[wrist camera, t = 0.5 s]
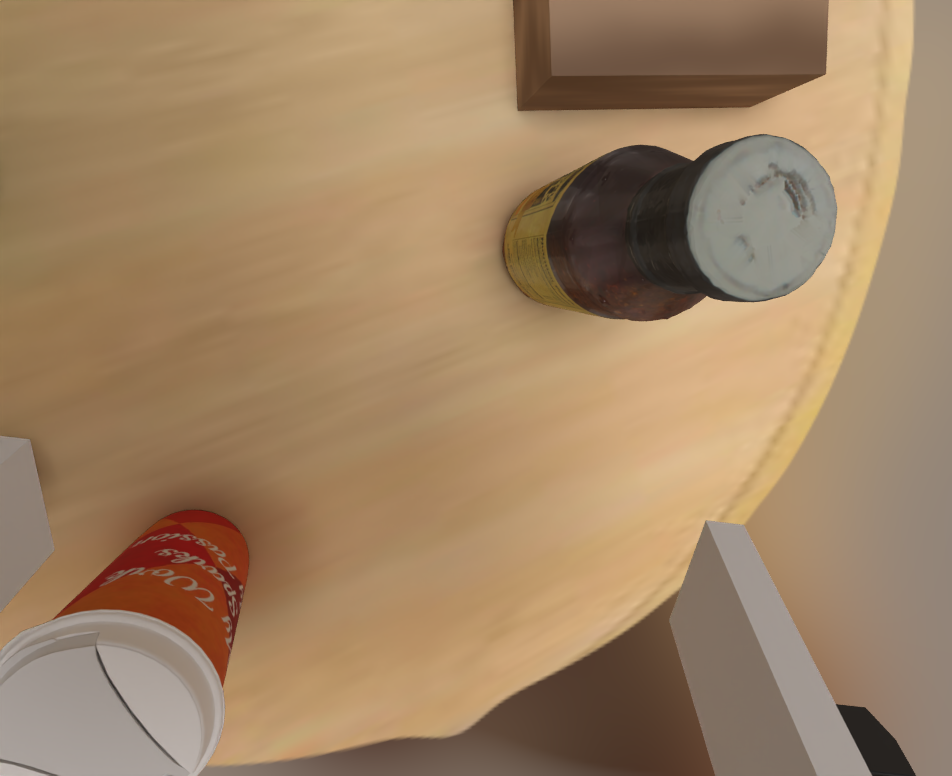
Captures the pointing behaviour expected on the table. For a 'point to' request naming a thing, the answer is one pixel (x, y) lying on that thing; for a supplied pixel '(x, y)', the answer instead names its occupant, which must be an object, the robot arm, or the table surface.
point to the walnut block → (665, 52)
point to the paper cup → (130, 661)
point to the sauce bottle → (674, 229)
